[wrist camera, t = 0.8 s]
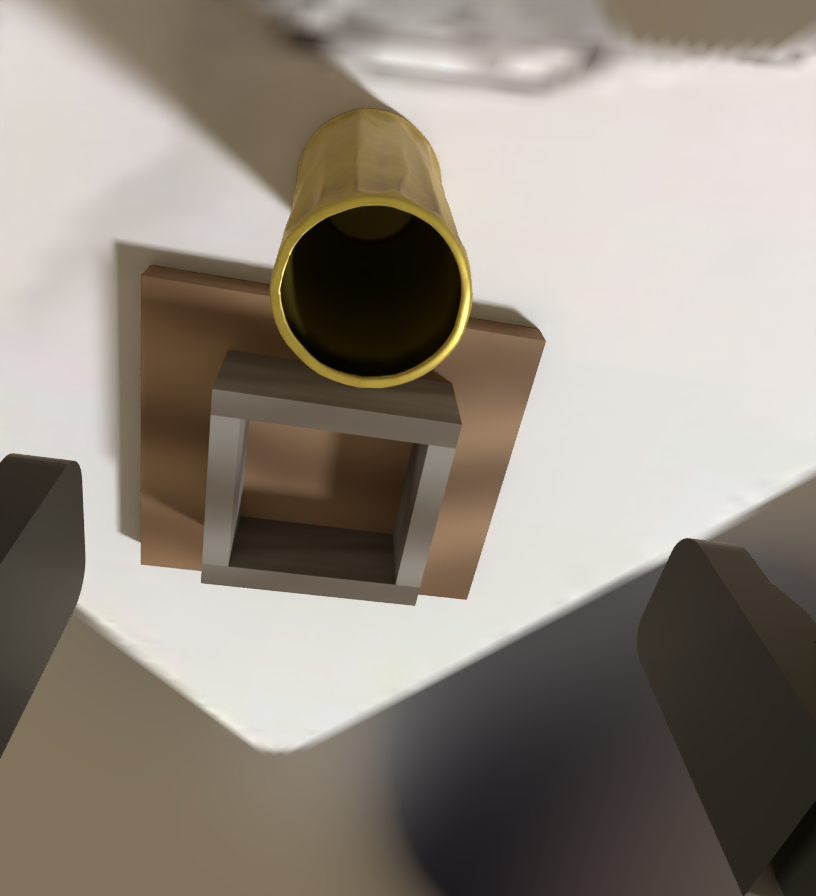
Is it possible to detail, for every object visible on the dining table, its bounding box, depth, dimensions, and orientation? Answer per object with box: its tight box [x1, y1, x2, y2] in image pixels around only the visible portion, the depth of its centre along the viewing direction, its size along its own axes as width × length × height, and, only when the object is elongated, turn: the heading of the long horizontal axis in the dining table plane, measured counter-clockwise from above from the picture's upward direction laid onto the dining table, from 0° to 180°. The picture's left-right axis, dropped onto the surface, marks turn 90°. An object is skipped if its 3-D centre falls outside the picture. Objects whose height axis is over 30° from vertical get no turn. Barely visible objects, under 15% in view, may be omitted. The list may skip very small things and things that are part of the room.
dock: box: [141, 265, 546, 606], centre depth 35 cm, size 16×18×6 cm
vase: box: [270, 108, 473, 388], centre depth 24 cm, size 6×6×14 cm
